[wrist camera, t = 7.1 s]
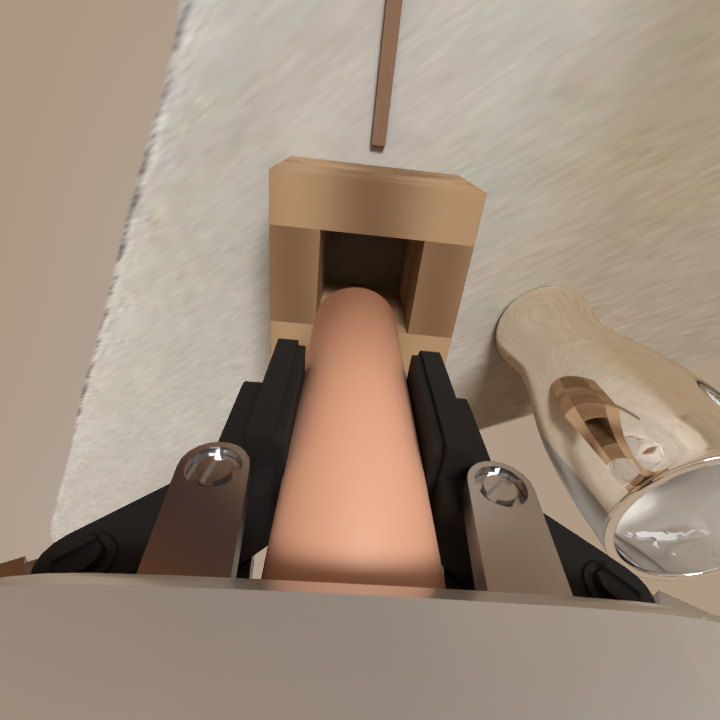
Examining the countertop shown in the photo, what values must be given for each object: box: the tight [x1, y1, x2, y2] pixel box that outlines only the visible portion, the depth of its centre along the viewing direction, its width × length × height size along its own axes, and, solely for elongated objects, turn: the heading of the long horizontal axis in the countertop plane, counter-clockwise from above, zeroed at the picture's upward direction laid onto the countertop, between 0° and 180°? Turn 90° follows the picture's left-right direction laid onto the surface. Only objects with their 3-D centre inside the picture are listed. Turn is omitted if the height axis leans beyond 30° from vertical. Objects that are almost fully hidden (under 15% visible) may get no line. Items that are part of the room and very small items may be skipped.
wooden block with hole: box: [269, 156, 487, 372], centre depth 22 cm, size 9×9×6 cm
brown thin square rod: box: [372, 0, 402, 146], centre depth 19 cm, size 1×10×1 cm, turn 175°
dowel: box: [261, 287, 446, 589], centre depth 10 cm, size 3×3×12 cm
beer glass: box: [496, 286, 720, 581], centre depth 20 cm, size 7×7×15 cm
